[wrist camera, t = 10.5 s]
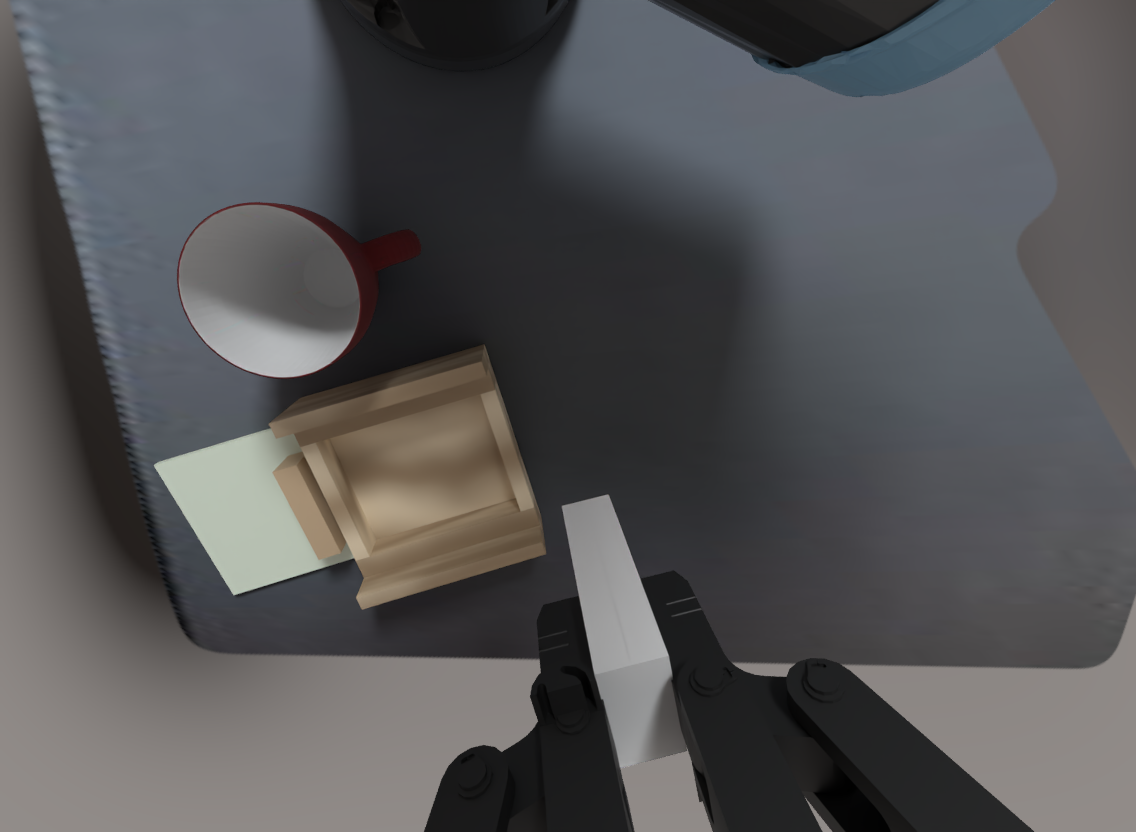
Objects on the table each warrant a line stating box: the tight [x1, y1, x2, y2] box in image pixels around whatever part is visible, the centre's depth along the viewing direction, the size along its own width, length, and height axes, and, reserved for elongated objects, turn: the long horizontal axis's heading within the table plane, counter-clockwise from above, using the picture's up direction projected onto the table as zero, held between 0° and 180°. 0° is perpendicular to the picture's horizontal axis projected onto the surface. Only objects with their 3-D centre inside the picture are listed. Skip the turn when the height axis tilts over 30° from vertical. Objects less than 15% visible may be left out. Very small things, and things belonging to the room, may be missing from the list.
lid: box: [154, 428, 354, 595], centre depth 37 cm, size 11×10×4 cm
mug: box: [177, 202, 421, 379], centre depth 29 cm, size 11×8×10 cm
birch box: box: [269, 344, 546, 609], centre depth 36 cm, size 14×13×5 cm
